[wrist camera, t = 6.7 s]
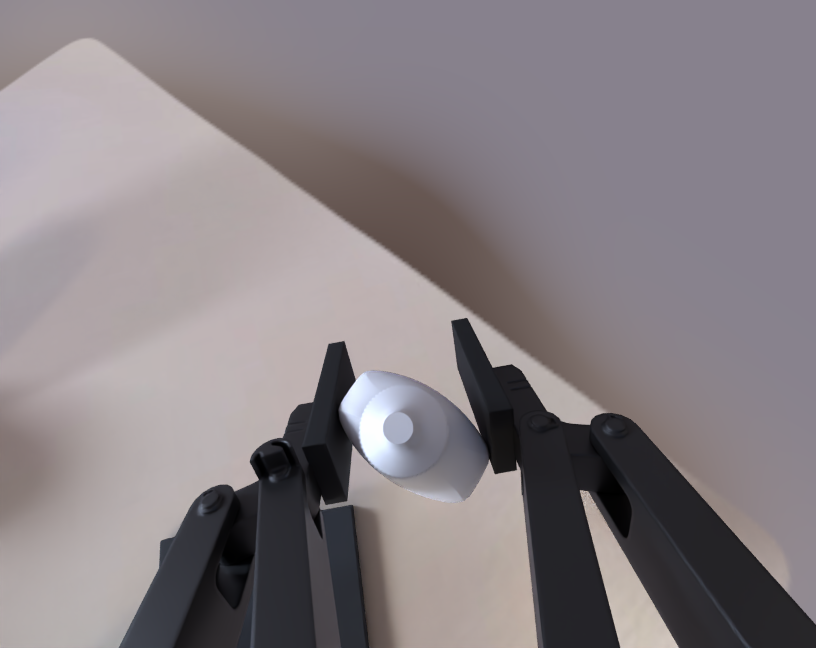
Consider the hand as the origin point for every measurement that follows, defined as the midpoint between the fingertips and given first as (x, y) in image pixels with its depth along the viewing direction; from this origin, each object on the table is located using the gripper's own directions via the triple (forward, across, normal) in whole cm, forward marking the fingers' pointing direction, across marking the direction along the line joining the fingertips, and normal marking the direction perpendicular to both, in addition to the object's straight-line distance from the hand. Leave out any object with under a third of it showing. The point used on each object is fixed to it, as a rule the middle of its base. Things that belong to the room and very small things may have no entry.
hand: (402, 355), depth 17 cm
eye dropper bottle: (0, 0, -5) cm, 5 cm away
